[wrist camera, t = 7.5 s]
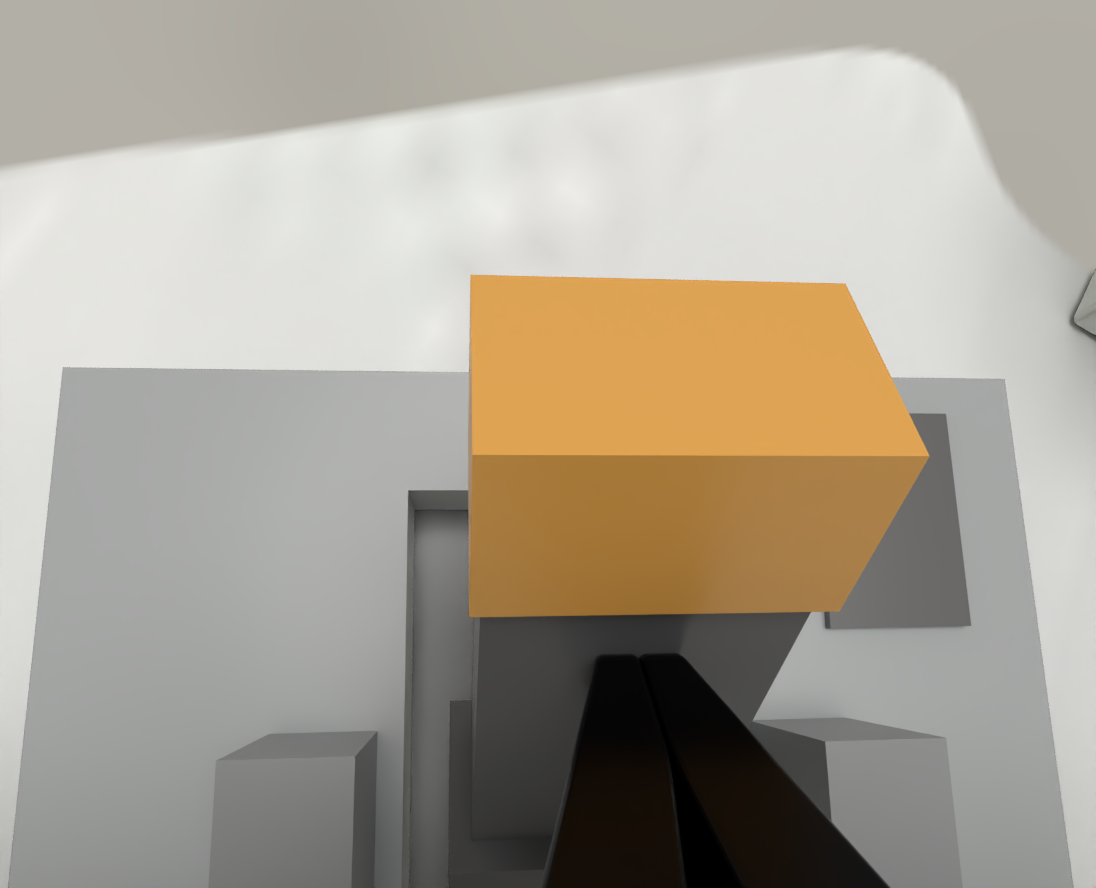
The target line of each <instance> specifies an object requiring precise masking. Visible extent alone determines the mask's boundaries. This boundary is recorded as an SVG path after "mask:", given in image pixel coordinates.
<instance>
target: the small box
mask: <svg viewBox="0 0 1096 888" xmlns="http://www.w3.org/2000/svg"><path fill="white" fill-rule="evenodd" d="M1074 322H1075V323H1076V324H1077V325H1078V326H1080V327H1082V328H1084V329H1085V330H1087V331H1089V332H1091V333H1093V334H1094V335H1096V269H1095V272H1094V274H1093V276H1092V278H1091V281H1090V283H1089V285H1088V288H1087V290H1086V292H1085V294H1084V296H1083V298H1082V300H1081V303H1080V305H1079V307H1078V309H1077V311H1076V313H1075V315H1074Z"/></svg>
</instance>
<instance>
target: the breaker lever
mask: <svg viewBox="0 0 1096 888" xmlns="http://www.w3.org/2000/svg"><path fill="white" fill-rule="evenodd" d="M929 457H930V456H929V454H928V452H927V450H926V447H925V445H924V443H923V441H922V439H921V437H920V435H919V433H918V431H917V429H916V427H915V425H914V423H913V421H912V419H911V417H910V415H909V413H908V411H907V409H906V407H905V405H904V403H903V401H902V398H901V396H900V394H899V392H898V390H897V388H896V386H895V384H894V382H893V380H892V378H891V376H890V374H889V372H888V370H887V368H886V366H885V364H884V362H883V360H882V358H881V356H880V354H879V352H878V349H877V347H876V345H875V343H874V341H873V339H872V337H871V335H870V333H869V331H868V329H867V327H866V325H865V323H864V321H863V319H862V317H861V315H860V313H859V311H858V309H857V307H856V305H855V303H854V300H853V298H852V296H851V294H850V292H849V290H848V288H847V286H846V284H836V283H794V282H751V281H709V280H666V279H623V278H581V277H538V276H496V275H471V278H470V343H469V408H468V531H469V617H474V630H473V665H472V700H471V701H450V769H449V866H448V878H449V888H540V886H541V881H542V877H543V873H544V869H545V865H546V861H547V857H548V853H549V848H550V844H551V840H552V836H553V832H554V828H555V824H556V820H557V816H558V811H559V807H560V803H561V799H562V795H563V791H564V787H565V783H566V778H567V774H568V770H569V766H570V762H571V758H572V754H573V750H574V746H575V741H576V737H577V733H578V729H579V725H580V721H581V717H582V713H583V708H584V704H585V700H586V696H587V692H588V688H589V684H590V680H591V676H592V671H593V667H594V663H595V660H596V658H597V657H598V656H600V655H607V654H634V655H635V656H637V658H638V659H639V658H640V657H641V656H642V655H644V654H655V653H677V654H680V655H682V656H683V657H684V658H685V659H686V660H687V661H688V662H689V663H690V664H691V665H692V666H693V667H694V668H695V670H696V671H697V672H698V673H699V674H700V675H701V676H702V677H703V679H704V680H705V681H706V682H707V683H708V684H709V685H710V686H711V687H712V689H713V690H714V691H715V692H716V693H717V694H718V695H719V696H720V698H721V699H722V700H723V701H724V702H725V703H726V704H727V705H728V706H729V708H730V709H731V710H732V711H733V712H734V713H735V714H736V715H737V716H738V718H739V719H740V720H741V721H742V722H743V723H744V724H745V725H746V727H747V728H749V726H750V724H751V723H752V721H753V719H754V717H755V715H756V713H757V711H758V710H759V708H760V706H761V704H762V702H763V700H764V699H765V697H766V695H767V693H768V691H769V689H770V687H771V686H772V684H773V682H774V680H775V678H776V676H777V674H778V673H779V671H780V669H781V667H782V665H783V663H784V661H785V660H786V658H787V656H788V654H789V652H790V650H791V648H792V647H793V645H794V643H795V641H796V639H797V637H798V635H799V634H800V632H801V630H802V628H803V626H804V624H805V623H806V621H807V619H808V617H809V615H810V613H811V612H839V611H840V610H841V608H842V606H843V604H844V603H845V601H846V599H847V598H848V596H849V594H850V592H851V591H852V589H853V587H854V586H855V584H856V582H857V580H858V579H859V577H860V575H861V573H862V572H863V570H864V568H865V567H866V565H867V563H868V561H869V560H870V558H871V556H872V555H873V553H874V551H875V549H876V548H877V546H878V544H879V543H880V541H881V539H882V537H883V536H884V534H885V532H886V531H887V529H888V527H889V525H890V524H891V522H892V520H893V518H894V517H895V515H896V513H897V512H898V510H899V508H900V506H901V505H902V503H903V501H904V500H905V498H906V496H907V494H908V493H909V491H910V489H911V488H912V486H913V484H914V482H915V481H916V479H917V477H918V475H919V474H920V472H921V470H922V469H923V467H924V465H925V463H926V462H927V460H928V458H929Z"/></svg>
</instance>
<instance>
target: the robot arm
mask: <svg viewBox="0 0 1096 888" xmlns="http://www.w3.org/2000/svg"><path fill="white" fill-rule="evenodd" d="M540 888H891V887H890V886H889V885H888V884H887V883H886V882H885V881H884V879H883V878H882V877H881V876H880V875H879V874H878V873H877V872H876V871H875V869H874V868H873V867H872V866H871V865H870V864H869V863H868V862H867V860H866V859H865V858H864V857H863V856H862V855H861V854H860V853H859V852H858V850H857V849H856V848H855V847H854V846H853V845H852V844H851V843H850V842H849V840H848V839H847V838H846V837H845V836H844V835H843V834H842V833H841V831H840V830H839V829H838V828H837V827H836V826H835V825H834V824H833V823H832V821H831V820H830V819H829V818H828V817H827V816H826V815H825V814H824V812H823V811H822V810H821V809H820V808H819V807H818V806H817V805H816V804H815V802H814V801H813V800H812V799H811V798H810V797H809V796H808V795H807V794H806V792H805V791H804V790H803V789H802V788H801V787H800V786H799V785H798V783H797V782H796V781H795V780H794V779H793V778H792V777H791V776H790V775H789V773H788V772H787V771H786V770H785V769H784V768H783V767H782V766H781V764H780V763H779V762H778V761H777V760H776V759H775V758H774V757H773V756H772V754H771V753H770V752H769V751H768V750H767V749H766V748H765V747H764V746H763V744H762V743H761V742H760V741H759V740H758V739H757V738H756V737H755V735H754V734H753V733H752V732H751V731H750V730H749V729H748V728H747V727H746V725H745V724H744V723H743V722H742V721H741V720H740V719H739V718H738V716H737V715H736V714H735V713H734V712H733V711H732V710H731V709H730V708H729V706H728V705H727V704H726V703H725V702H724V701H723V700H722V699H721V698H720V696H719V695H718V694H717V693H716V692H715V691H714V690H713V689H712V687H711V686H710V685H709V684H708V683H707V682H706V681H705V680H704V679H703V677H702V676H701V675H700V674H699V673H698V672H697V671H696V670H695V668H694V667H693V666H692V665H691V664H690V663H689V662H688V661H687V660H686V659H685V658H684V657H683V656H682V655H680V654H677V653H655V654H644V655H642V656H641V657H640V658H639V659H638V658H637V656H635V655H634V654H607V655H600V656H598V657H597V658H596V660H595V663H594V667H593V671H592V676H591V680H590V684H589V688H588V692H587V696H586V700H585V704H584V708H583V713H582V717H581V721H580V725H579V729H578V733H577V737H576V741H575V746H574V750H573V754H572V758H571V762H570V766H569V770H568V774H567V778H566V783H565V787H564V791H563V795H562V799H561V803H560V807H559V811H558V816H557V820H556V824H555V828H554V832H553V836H552V840H551V844H550V848H549V853H548V857H547V861H546V865H545V869H544V873H543V877H542V881H541V886H540Z"/></svg>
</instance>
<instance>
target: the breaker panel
mask: <svg viewBox="0 0 1096 888" xmlns="http://www.w3.org/2000/svg"><path fill="white" fill-rule="evenodd" d="M892 380H893V382H894V384H895V386H896V388H897V390H898V392H899V394H900V396H901V398H902V401H903V403H904V405H905V407H906V409H907V411H908V413H909V415H910V417H911V419H912V421H913V423H914V425H915V427H916V429H917V431H918V433H919V435H920V437H921V439H922V441H923V443H924V445H925V447H926V450H927V452H928V454H929V456H930V457H929V458H928V460H927V462H926V463H925V465H924V467H923V469H922V470H921V472H920V474H919V475H918V477H917V479H916V481H915V482H914V484H913V486H912V488H911V489H910V491H909V493H908V494H907V496H906V498H905V500H904V501H903V503H902V505H901V506H900V508H899V510H898V512H897V513H896V515H895V517H894V518H893V520H892V522H891V524H890V525H889V527H888V529H887V531H886V532H885V534H884V536H883V537H882V539H881V541H880V543H879V544H878V546H877V548H876V549H875V551H874V553H873V555H872V556H871V558H870V560H869V561H868V563H867V565H866V567H865V568H864V570H863V572H862V573H861V575H860V577H859V579H858V580H857V582H856V584H855V586H854V587H853V589H852V591H851V592H850V594H849V596H848V598H847V599H846V601H845V603H844V604H843V606H842V608H841V610H840V611H839V612H811V613H810V615H809V617H808V619H807V621H806V623H805V624H804V626H803V628H802V630H801V632H800V634H799V635H798V637H797V639H796V641H795V643H794V645H793V647H792V648H791V650H790V652H789V654H788V656H787V658H786V660H785V661H784V663H783V665H782V667H781V669H780V671H779V673H778V674H777V676H776V678H775V680H774V682H773V684H772V686H771V687H770V689H769V691H768V693H767V695H766V697H765V699H764V700H763V702H762V704H761V706H760V708H759V710H758V711H757V713H756V715H755V717H754V719H753V721H752V723H751V724H750V726H749V728H748V729H749V730H750V731H751V732H752V733H753V734H754V735H755V737H756V738H757V739H758V740H759V741H760V742H761V743H762V744H763V746H764V747H765V748H766V749H767V750H768V751H769V752H770V753H771V754H772V756H773V757H774V758H775V759H776V760H777V761H778V762H779V763H780V764H781V766H782V767H783V768H784V769H785V770H786V771H787V772H788V773H789V775H790V776H791V777H792V778H793V779H794V780H795V781H796V782H797V783H798V785H799V786H800V787H801V788H802V789H803V790H804V791H805V792H806V794H807V795H808V796H809V797H810V798H811V799H812V800H813V801H814V802H815V804H816V805H817V806H818V807H819V808H820V809H821V810H822V811H823V812H824V814H825V815H826V816H827V817H828V818H829V819H830V820H831V821H832V823H833V824H834V825H835V826H836V827H837V828H838V829H839V830H840V831H841V833H842V834H843V835H844V836H845V837H846V838H847V839H848V840H849V842H850V843H851V844H852V845H853V846H854V847H855V848H856V849H857V850H858V852H859V853H860V854H861V855H862V856H863V857H864V858H865V859H866V860H867V862H868V863H869V864H870V865H871V866H872V867H873V868H874V869H875V871H876V872H877V873H878V874H879V875H880V876H881V877H882V878H883V879H884V881H885V882H886V883H887V884H888V885H889V886H890V887H891V888H1073V880H1072V873H1071V866H1070V858H1069V851H1068V843H1067V836H1066V829H1065V821H1064V814H1063V807H1062V799H1061V792H1060V784H1059V777H1058V770H1057V762H1056V755H1055V748H1054V740H1053V733H1052V725H1051V718H1050V711H1049V703H1048V696H1047V689H1046V681H1045V674H1044V666H1043V659H1042V652H1041V644H1040V637H1039V629H1038V622H1037V615H1036V607H1035V600H1034V593H1033V585H1032V578H1031V570H1030V563H1029V556H1028V548H1027V541H1026V534H1025V526H1024V519H1023V511H1022V504H1021V497H1020V489H1019V482H1018V475H1017V467H1016V460H1015V452H1014V445H1013V438H1012V430H1011V423H1010V416H1009V408H1008V401H1007V393H1006V386H1005V379H964V378H892ZM468 408H469V372H395V371H314V370H233V369H152V368H70V367H63V371H62V381H61V390H60V399H59V409H58V418H57V428H56V437H55V447H54V456H53V466H52V475H51V485H50V494H49V503H48V513H47V522H46V532H45V541H44V551H43V560H42V570H41V579H40V588H39V598H38V607H37V617H36V626H35V636H34V645H33V655H32V664H31V674H30V683H29V692H28V702H27V711H26V721H25V730H24V740H23V749H22V759H21V768H20V778H19V787H18V796H17V806H16V815H15V825H14V834H13V844H12V853H11V863H10V872H9V881H8V888H409V853H410V787H411V720H412V653H413V586H414V519H415V510H468Z"/></svg>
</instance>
